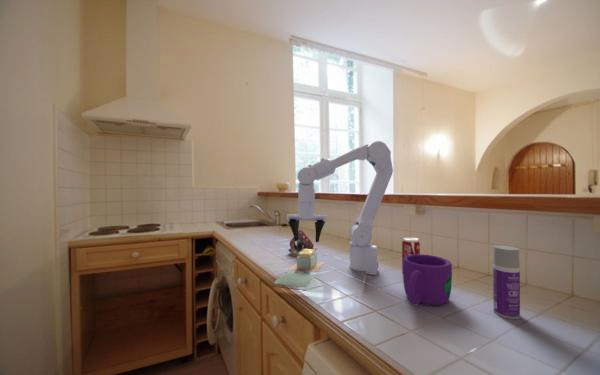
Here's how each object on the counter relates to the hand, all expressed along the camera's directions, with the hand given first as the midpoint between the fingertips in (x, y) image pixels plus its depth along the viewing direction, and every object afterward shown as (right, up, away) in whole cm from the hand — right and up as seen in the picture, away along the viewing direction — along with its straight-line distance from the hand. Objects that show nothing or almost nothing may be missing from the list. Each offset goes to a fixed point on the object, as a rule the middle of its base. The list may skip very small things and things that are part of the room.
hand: (306, 241), depth 90 cm
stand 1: (0, -10, 0) cm, 10 cm away
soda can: (+33, -10, -8) cm, 36 cm away
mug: (+28, -10, -26) cm, 40 cm away
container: (+44, -10, -32) cm, 56 cm away
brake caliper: (-2, -10, +17) cm, 19 cm away
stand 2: (-4, -10, -12) cm, 16 cm away
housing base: (0, -9, 0) cm, 9 cm away
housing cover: (0, -5, 0) cm, 5 cm away
